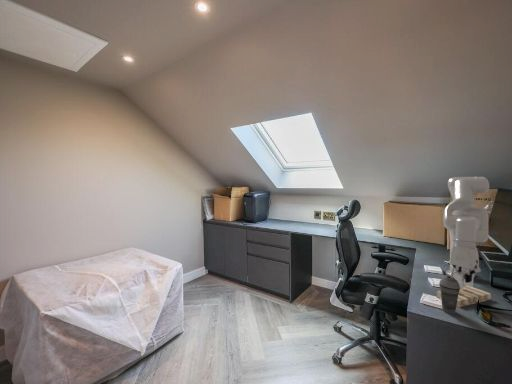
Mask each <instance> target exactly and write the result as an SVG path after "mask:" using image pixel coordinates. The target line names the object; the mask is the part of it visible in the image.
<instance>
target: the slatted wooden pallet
mask: <svg viewBox="0 0 512 384" xmlns="http://www.w3.org/2000/svg"><path fill="white" fill-rule="evenodd" d="M491 296H492V294H491V293H489V292H487V291H485V290H482V289H479V288H476V287H474V286H473V287H469V286H466V285H463V288H462V289H460V291H459V293H458V300H457V306H456V308H457V307H458V308H461V307H462V308H463V307H466V306H469V305H473V304H478V303H477V302H478V300H479V303H483V302H487V301H490V300H492V299H491V298H492V297H491ZM437 297H439V298H438V299H440V298H441V290H437V291H436V298H437Z"/></svg>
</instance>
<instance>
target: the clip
mask: <svg viewBox="0 0 512 384" xmlns="http://www.w3.org/2000/svg"><path fill="white" fill-rule="evenodd" d="M466 274H467V270H466V271H459V272H454V274H453V278H455V279H456V280H457V281H458V283H459V285H460V289H462V288H463V286H469V287H474V278H475V276H476V275H475V274H476V273H474V274H472V281H471V282H469V283H466V282H465V277H466Z"/></svg>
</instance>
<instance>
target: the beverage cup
mask: <svg viewBox="0 0 512 384" xmlns="http://www.w3.org/2000/svg"><path fill="white" fill-rule="evenodd" d="M453 271H454V268H453V269H452V274H451V276H449V275H447V276H443V277H441V279H440V280H439V284H438V285H439V289H440V291H441V299H440V300H441V301H440V302H441V308H442V311H443V312H444V313H445V314H448V315H455V314H456V313H457V312H456V310H457V300H458V293H459V291H460V285H459V283H458V281H457V280H456V279H455V278H454V277H453Z"/></svg>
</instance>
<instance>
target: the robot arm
mask: <svg viewBox="0 0 512 384" xmlns="http://www.w3.org/2000/svg"><path fill="white" fill-rule="evenodd" d="M447 188H448V191H449V193H450V195H451V197H452V198H451V199H452V201H451V202H449V203H448V204H447V205H446V206H445V208H444V210H443V215H442V216H443V218H442V219H443V221H442V223H443V224H442V225H443V227H444V228H445V229H447V230H448V234H449V240H450V241H449V242H450V245H449V249H450V250H449V261H450V262H449V261H448V262H449V263H450V265H449V269H448V270H446V275H447V276H450V277H451V274H452V269H453V268H454V271H453V274H454V272H459V271H466V270H467V274H466V277H465V282H466V283H469V282H471V281H472V274H474V273H475V274H476V273H481V272H482V270H481V268H480V258H479V252H478V248H477V247H476V242H477V243H485V242H487V241H488V240H489V213H488V210H487V208H485V207H483V206H482V207H481V206H473V205H474V204H475V201H476V200H475V198H476V197H475V194H486V193H488V192H489V190H490V182H489V180H488V179H487V178H486V177H485V176H454V177H450V178H449V179H448V181H447ZM451 213H452V214H451Z"/></svg>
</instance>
